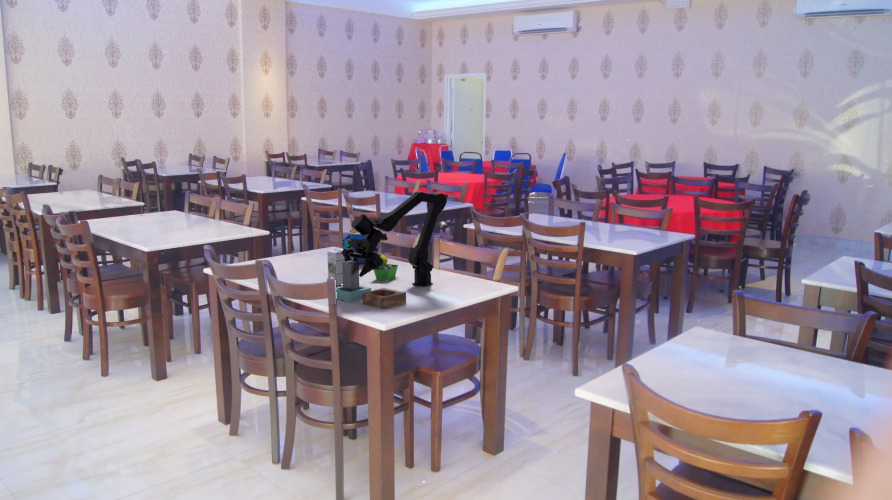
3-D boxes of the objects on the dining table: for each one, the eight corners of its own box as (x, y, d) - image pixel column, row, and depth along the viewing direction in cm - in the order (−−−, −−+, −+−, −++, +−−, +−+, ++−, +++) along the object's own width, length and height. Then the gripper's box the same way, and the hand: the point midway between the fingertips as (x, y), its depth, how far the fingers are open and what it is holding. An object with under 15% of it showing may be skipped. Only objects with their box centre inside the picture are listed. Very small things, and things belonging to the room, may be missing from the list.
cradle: (327, 297, 266) (327, 289, 266) (352, 291, 276) (351, 283, 276) (350, 302, 258) (350, 294, 258) (375, 296, 268) (374, 287, 268)
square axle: (343, 294, 267) (342, 262, 264) (351, 292, 270) (350, 260, 268) (351, 296, 264) (350, 263, 262) (359, 294, 267) (358, 261, 265)
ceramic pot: (341, 259, 340) (340, 229, 338) (377, 258, 344) (376, 228, 342) (345, 266, 324) (344, 235, 321) (382, 265, 328) (382, 233, 325)
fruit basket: (388, 281, 293) (388, 255, 291) (369, 280, 296) (369, 254, 294) (399, 276, 304) (398, 251, 302) (380, 274, 306) (380, 249, 304)
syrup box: (347, 284, 288) (346, 250, 286) (336, 286, 284) (335, 252, 281) (339, 282, 292) (338, 248, 290) (327, 284, 288) (326, 250, 285)
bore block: (362, 303, 257) (362, 293, 256) (384, 297, 265) (384, 287, 265) (384, 308, 250) (384, 298, 249) (406, 302, 258) (406, 292, 258)
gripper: (343, 228, 273) (323, 259, 266) (377, 232, 261) (357, 265, 255) (358, 244, 280) (339, 276, 274) (392, 249, 269) (372, 282, 262)
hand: (351, 274), depth 266 cm, fingers open, 9 cm apart
